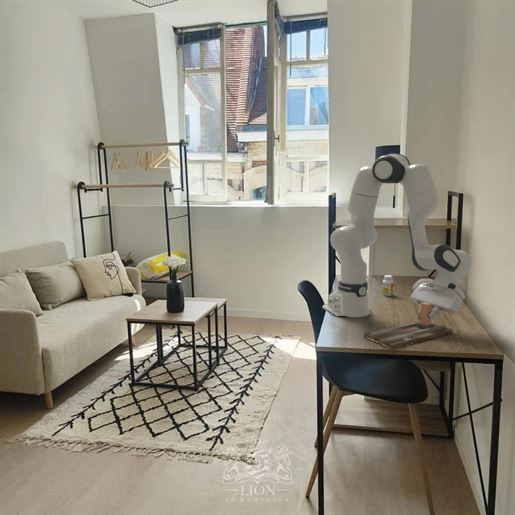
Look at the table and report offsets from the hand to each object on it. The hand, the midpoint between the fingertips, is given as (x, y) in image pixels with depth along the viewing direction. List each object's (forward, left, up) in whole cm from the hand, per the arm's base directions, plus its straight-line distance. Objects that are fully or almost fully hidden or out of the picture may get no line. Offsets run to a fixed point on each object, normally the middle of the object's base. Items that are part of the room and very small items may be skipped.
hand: (424, 315), depth 176 cm
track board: (0, -8, -6) cm, 10 cm away
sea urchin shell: (-39, +45, -7) cm, 60 cm away
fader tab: (0, +1, -5) cm, 5 cm away
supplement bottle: (-48, +28, -7) cm, 56 cm away
